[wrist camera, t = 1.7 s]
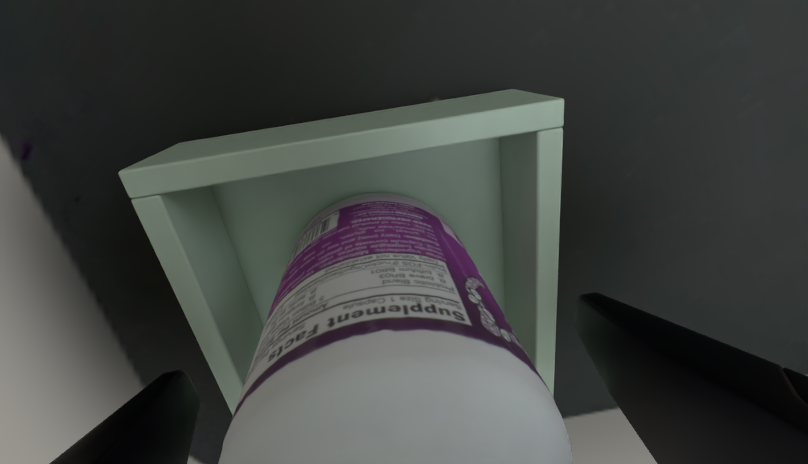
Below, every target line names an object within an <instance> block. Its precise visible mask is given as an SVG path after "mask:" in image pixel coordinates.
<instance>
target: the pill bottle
mask: <svg viewBox="0 0 808 464" xmlns="http://www.w3.org/2000/svg"><path fill="white" fill-rule="evenodd" d="M218 464H573V457H572V450H571V445H570V440H569V437H568V433H567V430H566V428H565V424H564V422H563V419H562V416H561V414H560V412H559V410H558V408H557V406H556V404H555V401H554V399H553V397H552V394H551V392H550V390H549V388H548V387H547V385H546V384H545V382H544V381H543V379H542V378H541V376H540V375H539V373H538V372H537V370H536V368H535V367H534V365H533V363H532V361H531V360H530V358H529V356H528V354H527V353H526V351H525V349H524V348H523V346H522V345H521V343H520V341H519V339H518V338H517V336H516V334H515V332H514V331H513V329H512V327H511V326H510V324H509V322H508V320H507V319H506V317H505V315H504V314H503V312H502V310H501V308H500V307H499V305H498V304H497V302H496V300H495V298H494V297H493V295H492V293H491V292H490V290H489V288H488V287H487V285H486V283H485V281H484V279H483V278H482V276H481V274H480V272H479V271H478V269H477V267H476V265H475V264H474V262H473V261H472V259H471V257H470V255H469V253H468V251H467V250H466V248H465V246H464V245H463V244H462V242H461V241H460V239H459V237H458V236H457V234H456V233H455V231H454V230H453V229H452V227H451V226H450V225H449V223H448V222H447V221H446V220H445V219H444V218H443V217H442V216H441V215H440V214H438V213H437V212H436V211H434V210H433V209H432V208H430V207H429V206H427V205H425V204H423V203H422V202H420V201H417V200H415V199H412V198H410V197H406V196H403V195H398V194H392V193H365V194H360V195H356V196H353V197H349V198H346V199H344V200H341V201H339V202H337V203H335V204H333V205H331V206H329V207H327V208H325V209H324V210H323V211H321V212H320V213H319V214H317V215H316V216H315V217H314V218H313V219H312V220H311V221H310V222H309V223H308V225H307V226H306V227H305V228H304V230H303V231H302V233H301V234H300V236H299V238H298V240H297V242H296V244H295V246H294V248H293V251H292V253H291V256H290V258H289V260H288V263H287V266H286V269H285V271H284V274H283V276H282V279H281V282H280V285H279V288H278V290H277V293H276V296H275V298H274V301H273V303H272V306H271V309H270V312H269V314H268V317H267V320H266V323H265V326H264V329H263V331H262V334H261V337H260V340H259V343H258V346H257V349H256V351H255V354H254V357H253V360H252V363H251V366H250V369H249V372H248V375H247V377H246V380H245V383H244V386H243V389H242V391H241V394H240V397H239V400H238V402H237V405H236V408H235V411H234V414H233V417H232V420H231V422H230V425H229V427H228V430H227V432H226V436H225V439H224V442H223V448H222V452H221V456H220V460H219V463H218Z"/></svg>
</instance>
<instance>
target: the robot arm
mask: <svg viewBox="0 0 808 464" xmlns="http://www.w3.org/2000/svg"><path fill="white" fill-rule="evenodd" d="M575 327H576V331H577V334H578V336H579V338H580V339H581V341H582V343H583V345H584V347H585V349H586V350H587V352H588V354H589V356H590V358H591V360H592V362H593V363H594V365H595V367H596V369H597V371H598V373H599V375H600V376H601V378H602V380H603V382H604V384H605V386H606V387H607V389H608V391H609V392H610V394H611V396H612V397H613V399H614V400H615V402H616V403H617V405H618V406H619V408H620V409H621V411H622V412H623V413H624V415H625V416H626V418H627V419H628V421H629V422H630V424H631V425H632V427H633V428H634V430H635V431H636V432H637V434H638V435H639V437H640V438H641V440H642V441H643V443H644V444H645V446H646V447H647V449H648V450H649V452H650V453H651V455H652V456H653V457H654V459H655V460H656V462H657V463H658V464H808V376H805V375H803V374H800V373H798V372H795V371H793V370H790V369H788V368H783V369H782V367H781V366H780V365H778V364H775V363H773V362H770V361H767V360H765V359H762V358H760V357H757V356H755V355H752V354H750V353H747V352H745V351H742V350H740V349H737V348H735V347H732V346H730V345H727V344H725V343H722V342H720V341H717V340H715V339H712V338H710V337H707V336H705V335H702V334H700V333H697V332H695V331H692V330H690V329H687V328H685V327H682V326H680V325H677V324H675V323H672V322H669V321H667V320H664V319H662V318H659V317H657V316H654V315H652V314H649V313H647V312H644V311H642V310H639V309H637V308H634V307H632V306H629V305H627V304H624V303H622V302H619V301H617V300H614V299H612V298H609V297H607V296H604V295H602V294H599V293H589V294H583V295H580V296H578V298H577V301H576V316H575ZM199 407H200V398H199V395H198V393H197V391H196V389H195V387H194V385H193V383H192V381H191V379H190V377H189V375H188V374H187V372H186V371H184V370H177V371H172V372H167V373H164V374H162V375H161V376H159V377H158V378H157V379H156V380H154V381H153V382H152V383H151V384H149V385H148V386H147V387H146V388H144V389H143V390H142V391H141V392H139V393H138V394H137V395H136V396H134V397H133V398H132V399H130V400H129V401H128V402H127V403H125V404H124V405H123V406H122V407H121V408H119V409H118V410H117V411H115V412H114V413H113V414H112V415H110V416H109V417H108V418H107V419H105V420H104V421H103V422H102V423H100V424H99V425H98V426H96V427H95V428H94V429H93V430H91V431H90V432H89V433H88V434H86V435H85V436H84V437H83V438H81V439H80V440H79V441H78V442H76V443H75V444H74V445H73V446H71V447H70V448H69V449H68V450H66V451H65V452H64V453H62V454H61V455H60V456H59V457H58V458H56V459H55V460H54V461H52V462H51V463H50V464H187V461H188V457H189V452H190V448H191V443H192V439H193V434H194V430H195V425H196V421H197V417H198V412H199Z"/></svg>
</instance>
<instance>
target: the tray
mask: <svg viewBox="0 0 808 464" xmlns="http://www.w3.org/2000/svg"><path fill="white" fill-rule="evenodd" d="M563 121H564V99H562V98H557V97H552V96H547V95H541V94H536V93H531V92H525V91H520V90H516V89H509V90H503V91H496V92H490V93H484V94H478V95H472V96H465V97H459V98H453V99H447V100H441V101H435V102H428V103H422V104H416V105H410V106H404V107H398V108H391V109H385V110H379V111H373V112H367V113H360V114H354V115H348V116H342V117H336V118H330V119H323V120H317V121H311V122H305V123H299V124H293V125H286V126H280V127H274V128H268V129H262V130H255V131H249V132H243V133H237V134H231V135H225V136H218V137H212V138H206V139H200V140H194V141H187V142H181V143H178V144H176V145H174V146H172V147H170V148H168V149H165V150H163V151H161V152H159V153H157V154H155V155H153V156H150V157H148V158H146V159H144V160H142V161H140V162H138V163H135V164H133V165H131V166H129V167H127V168H125V169H123V170H121V171H119V176H120V178H121V181H122V183H123V185H124V187H125V189H126V191H127V193H128V195H129V197H130V198H134V199H132V204H133V206H134V208H135V210H136V213H137V215H138V217H139V219H140V221H141V223H142V225H143V227H144V229H145V231H146V234H147V236H148V238H149V240H150V242H151V244H152V246H153V248H154V250H155V253H156V255H157V257H158V259H159V261H160V263H161V265H162V267H163V269H164V271H165V274H166V276H167V278H168V280H169V282H170V284H171V286H172V288H173V290H174V293H175V295H176V297H177V299H178V301H179V303H180V305H181V307H182V309H183V312H184V314H185V316H186V318H187V320H188V322H189V324H190V326H191V328H192V330H193V333H194V335H195V337H196V339H197V341H198V343H199V345H200V347H201V349H202V352H203V354H204V356H205V358H206V360H207V362H208V364H209V366H210V368H211V370H212V373H213V375H214V377H215V379H216V381H217V383H218V385H219V387H220V389H221V392H222V394H223V396H224V398H225V400H226V402H227V404H228V406H229V408H230V410H231V413H232V415H233V414H234V411H235V408H236V405H237V402H238V400H239V397H240V394H241V391H242V389H243V386H244V383H245V380H246V377H247V375H248V372H249V369H250V366H251V363H252V360H253V357H254V354H255V351H256V349H257V346H258V343H259V340H260V337H261V334H262V331H263V329H264V326H265V323H266V320H267V317H268V314H269V312H270V309H271V306H272V303H273V301H274V298H275V296H276V293H277V290H278V288H279V285H280V282H281V279H282V276H283V274H284V271H285V269H286V266H287V263H288V260H289V258H290V256H291V253H292V251H293V248H294V246H295V244H296V242H297V240H298V238H299V236H300V234H301V233H302V231H303V230H304V228H305V227H306V226H307V225H308V223H309V222H310V221H311V220H312V219H313V218H314V217H315V216H316V215H317V214H319V213H320V212H321V211H323V210H324V209H325V208H327V207H329V206H331V205H333V204H335V203H337V202H339V201H341V200H344V199H346V198H349V197H353V196H356V195H360V194H365V193H392V194H398V195H403V196H406V197H410V198H412V199H415V200H417V201H420V202H422V203H423V204H425V205H427V206H429V207H430V208H432V209H433V210H434V211H436V212H437V213H438V214H440V215H441V216H442V217H443V218H444V219H445V220H446V221H447V222H448V223H449V225H450V226H451V227H452V229H453V230H454V231H455V233H456V234H457V236H458V237H459V239H460V241H461V242H462V244H463V245H464V246H465V248H466V250H467V251H468V253H469V255H470V257H471V259H472V261H473V262H474V264H475V265H476V267H477V269H478V271H479V272H480V274H481V276H482V278H483V279H484V281H485V283H486V285H487V287H488V288H489V290H490V292H491V293H492V295H493V297H494V298H495V300H496V302H497V304H498V305H499V307H500V308H501V310H502V312H503V314H504V315H505V317H506V319H507V320H508V322H509V324H510V326H511V327H512V329H513V331H514V332H515V334H516V336H517V338H518V339H519V341H520V343H521V345H522V346H523V348H524V349H525V351H526V353H527V354H528V356H529V358H530V360H531V361H532V363H533V365H534V367H535V368H536V370H537V372H538V373H539V375H540V376H541V378H542V379H543V381H544V382H545V384H546V385H547V387H548V388H549V390H550V392H551V394H552V397H553V392H554V367H555V339H556V311H557V284H558V256H559V229H560V201H561V174H562V146H563V129H562V128H561V126H563Z"/></svg>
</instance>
